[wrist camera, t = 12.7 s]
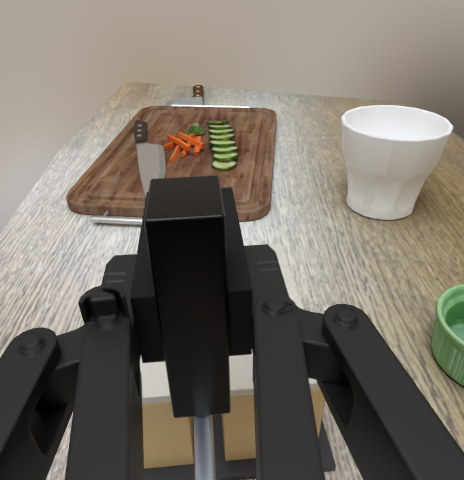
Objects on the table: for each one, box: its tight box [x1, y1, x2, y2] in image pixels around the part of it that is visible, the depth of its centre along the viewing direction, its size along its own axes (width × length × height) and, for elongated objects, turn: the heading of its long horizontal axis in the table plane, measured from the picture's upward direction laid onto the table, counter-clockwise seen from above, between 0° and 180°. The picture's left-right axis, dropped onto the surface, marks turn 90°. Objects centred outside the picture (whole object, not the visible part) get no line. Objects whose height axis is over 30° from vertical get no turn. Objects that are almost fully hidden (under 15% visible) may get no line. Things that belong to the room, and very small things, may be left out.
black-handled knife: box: [144, 175, 231, 480], centre depth 16 cm, size 8×2×17 cm, turn 5°
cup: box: [341, 105, 453, 220], centre depth 54 cm, size 12×12×11 cm
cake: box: [110, 244, 335, 480], centre depth 32 cm, size 16×16×8 cm
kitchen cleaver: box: [166, 85, 203, 106], centre depth 94 cm, size 24×1×10 cm
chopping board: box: [66, 104, 276, 225], centre depth 70 cm, size 45×27×3 cm, turn 174°
